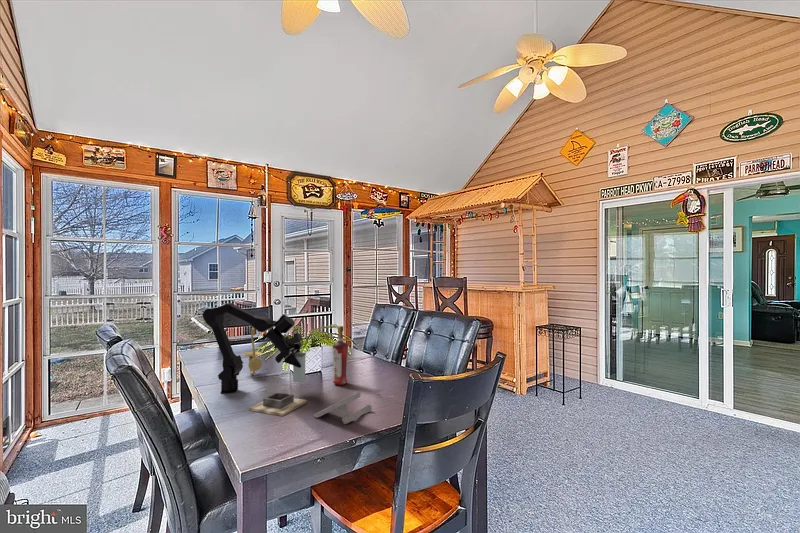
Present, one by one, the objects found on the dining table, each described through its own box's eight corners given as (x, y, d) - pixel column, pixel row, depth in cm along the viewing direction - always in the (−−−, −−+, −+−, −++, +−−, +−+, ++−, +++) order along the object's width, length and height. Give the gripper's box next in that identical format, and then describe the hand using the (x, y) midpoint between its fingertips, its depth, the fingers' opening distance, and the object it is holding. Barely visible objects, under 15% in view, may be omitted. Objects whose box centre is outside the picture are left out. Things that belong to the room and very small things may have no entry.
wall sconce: (264, 376, 200) (265, 328, 200) (245, 379, 195) (245, 329, 195) (258, 370, 212) (259, 324, 212) (240, 372, 207) (240, 326, 207)
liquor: (329, 384, 188) (329, 326, 188) (341, 380, 193) (341, 324, 193) (338, 387, 183) (339, 328, 183) (350, 384, 188) (351, 326, 188)
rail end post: (292, 381, 171) (293, 354, 171) (296, 378, 175) (296, 352, 175) (302, 382, 171) (302, 354, 171) (305, 379, 175) (305, 352, 175)
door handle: (320, 435, 144) (355, 419, 134) (312, 414, 147) (346, 397, 137) (352, 419, 159) (386, 403, 149) (344, 400, 161) (377, 383, 151)
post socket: (248, 410, 153) (248, 400, 153) (275, 397, 168) (275, 388, 168) (282, 416, 148) (282, 405, 148) (306, 402, 162) (306, 392, 162)
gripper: (282, 331, 164) (307, 358, 163) (298, 324, 183) (321, 349, 182) (264, 349, 165) (289, 376, 164) (282, 341, 184) (304, 365, 182)
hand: (302, 365), depth 173 cm, fingers closed on rail end post, 4 cm apart
